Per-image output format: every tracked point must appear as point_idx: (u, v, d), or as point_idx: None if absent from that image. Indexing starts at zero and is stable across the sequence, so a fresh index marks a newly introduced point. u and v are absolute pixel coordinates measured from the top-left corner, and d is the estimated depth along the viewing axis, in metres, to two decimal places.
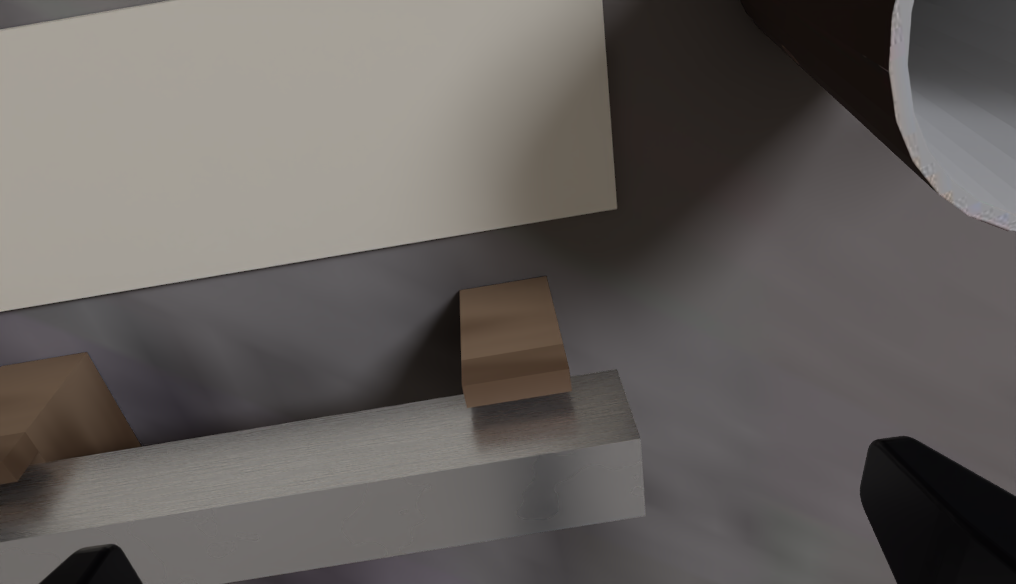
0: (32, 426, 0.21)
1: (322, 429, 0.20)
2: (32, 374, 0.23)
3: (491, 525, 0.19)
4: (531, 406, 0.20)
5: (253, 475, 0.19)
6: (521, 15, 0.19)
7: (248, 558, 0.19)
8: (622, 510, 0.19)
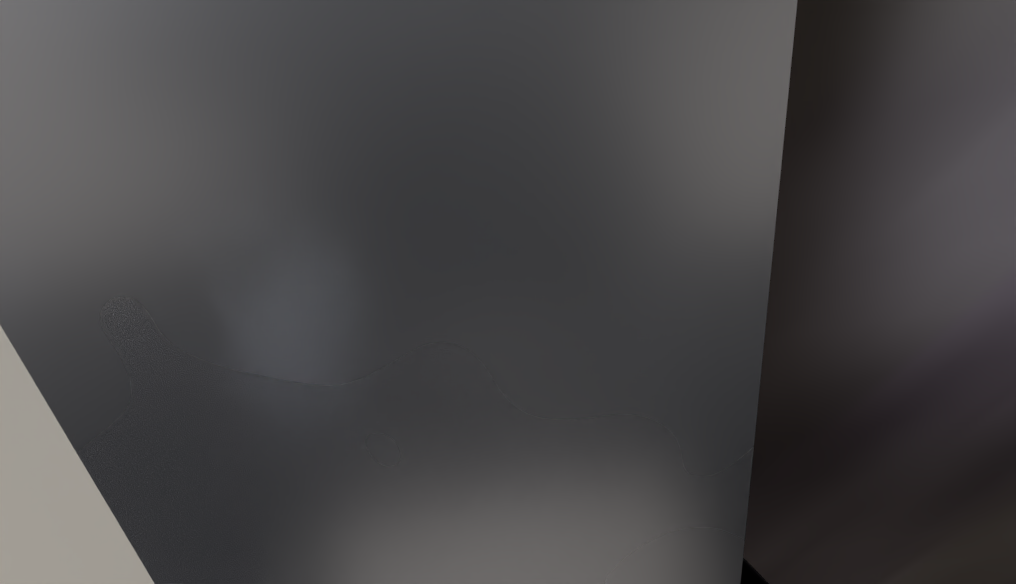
0: None
1: None
2: None
3: None
4: None
5: None
6: None
7: None
8: None
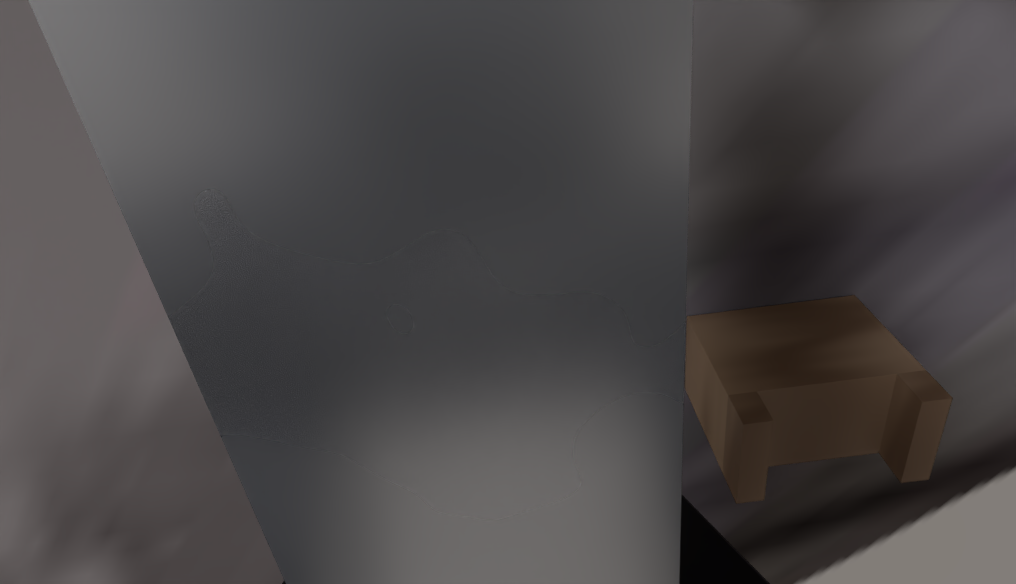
0: (726, 387, 0.19)
1: None
2: (693, 367, 0.22)
3: None
4: None
5: None
6: None
7: None
8: None
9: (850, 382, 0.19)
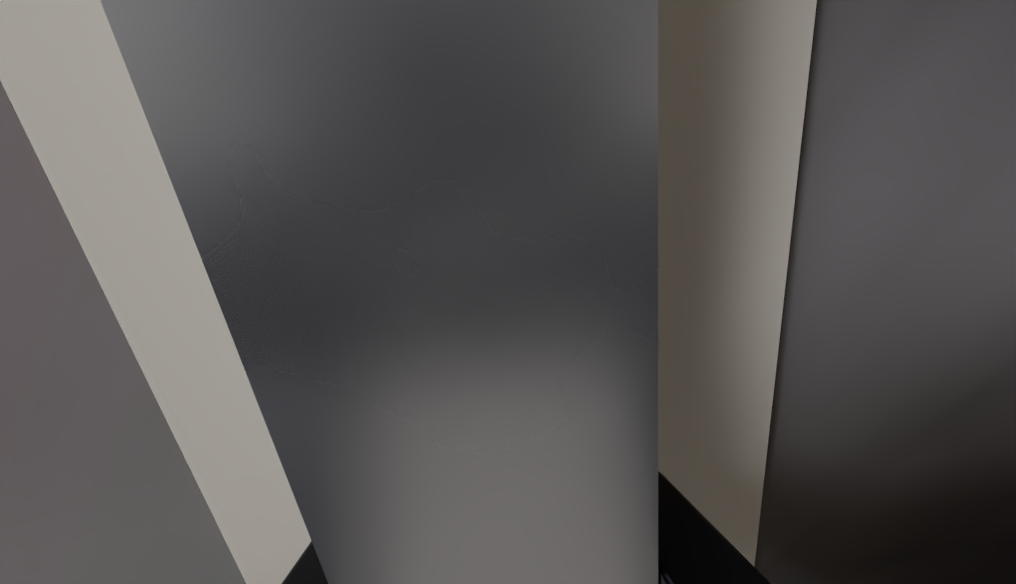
0: None
1: None
2: None
3: None
4: None
5: None
6: None
7: None
8: None
9: None
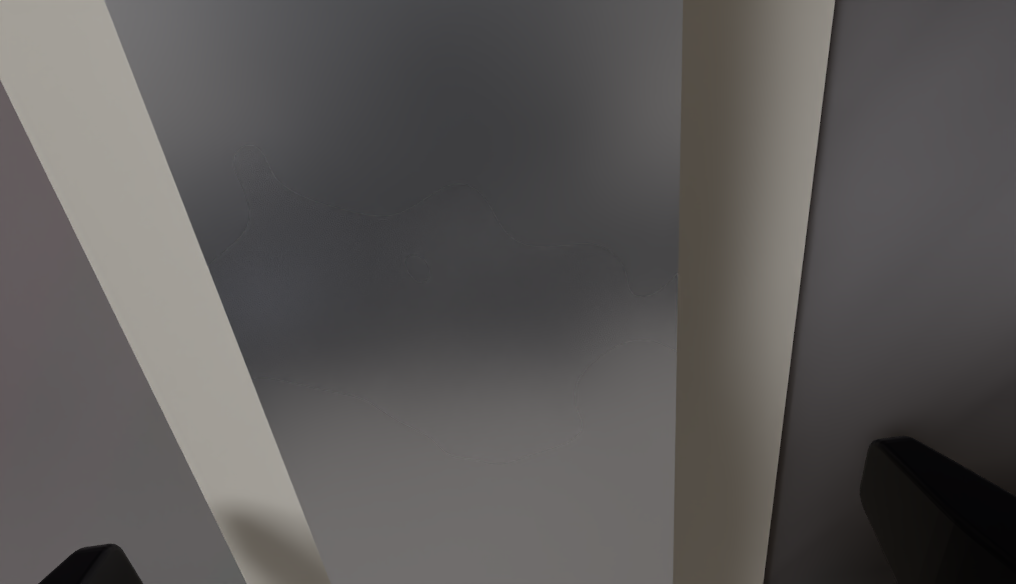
0: None
1: None
2: None
3: None
4: None
5: None
6: None
7: None
8: None
9: None
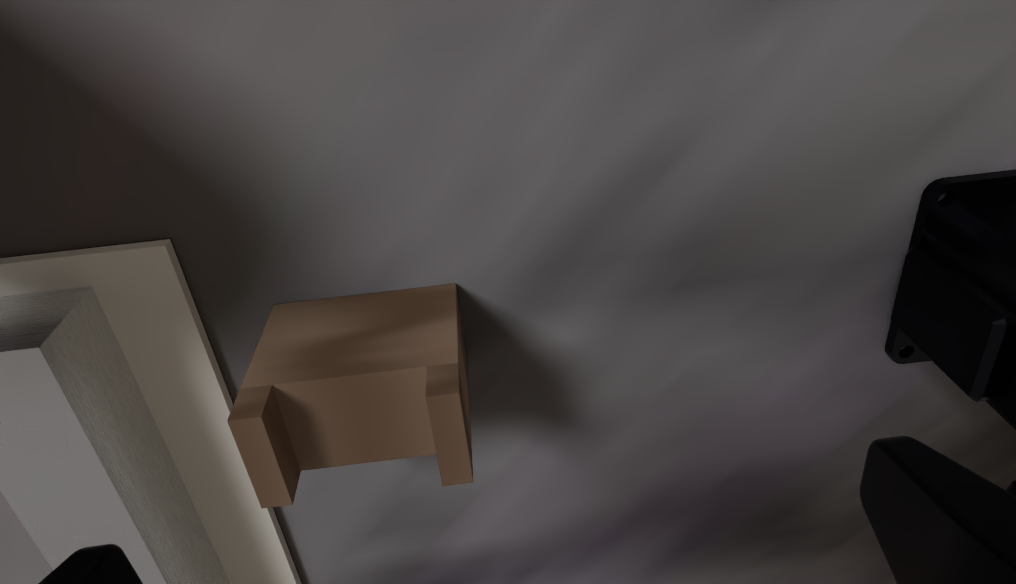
0: None
1: None
2: None
3: (84, 476, 0.19)
4: None
5: None
6: None
7: None
8: (35, 370, 0.17)
9: None
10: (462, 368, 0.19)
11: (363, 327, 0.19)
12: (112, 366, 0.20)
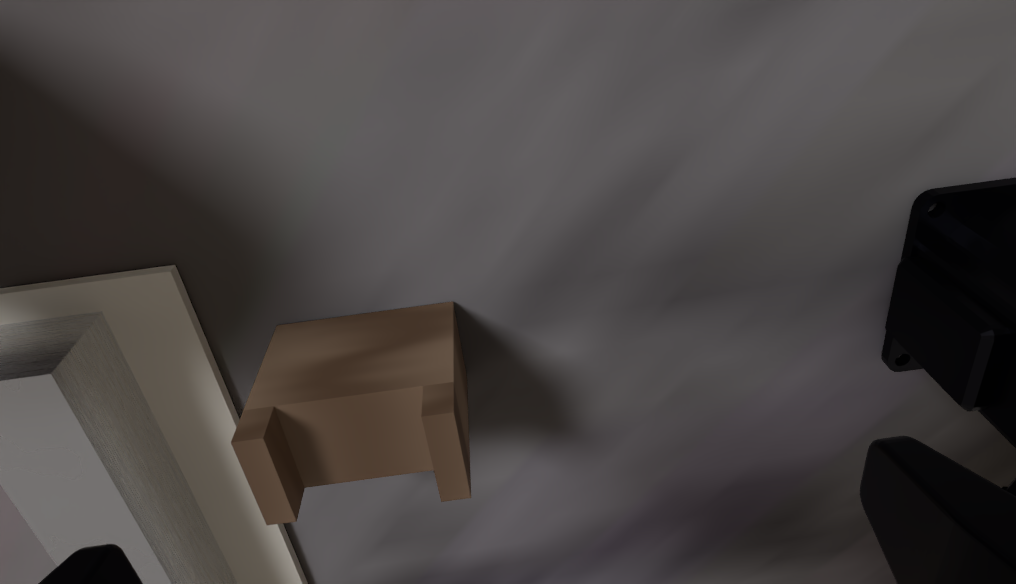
0: None
1: None
2: None
3: (98, 495, 0.20)
4: None
5: None
6: None
7: None
8: (48, 395, 0.18)
9: None
10: (459, 385, 0.20)
11: (362, 347, 0.20)
12: (122, 388, 0.21)
